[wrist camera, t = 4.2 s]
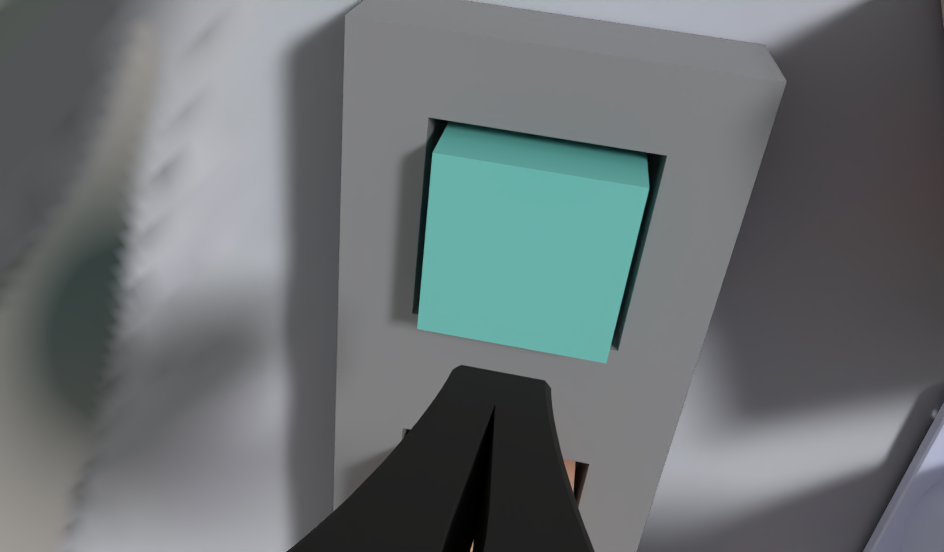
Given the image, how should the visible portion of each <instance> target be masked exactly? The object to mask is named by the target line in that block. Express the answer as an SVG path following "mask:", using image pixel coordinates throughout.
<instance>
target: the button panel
mask: <svg viewBox="0 0 944 552" xmlns="http://www.w3.org/2000/svg"><path fill="white" fill-rule="evenodd" d="M786 83H787V81H786V79H785V78H784V76H783V74H782V73H781V71H780V69H779V68H778V66H777V64H776V62H775V61H774V59H773V57H772V56H771V54H770V52H769V51H768V49H767V47H766V46H765V45H762V44H755V43H749V42H742V41H735V40H728V39H722V38H715V37H708V36H701V35H694V34H688V33H681V32H674V31H667V30H661V29H654V28H647V27H640V26H634V25H627V24H620V23H613V22H607V21H600V20H593V19H586V18H580V17H573V16H566V15H559V14H553V13H546V12H539V11H532V10H526V9H519V8H512V7H505V6H499V5H492V4H485V3H478V2H472V1H465V0H363V1H362V2H361V3H360V4H358V5H357V6H356V7H354V8H353V9H352V10H350V11H349V12H348V13H347V14H345V35H344V77H343V119H342V161H341V202H340V244H339V286H338V328H337V369H336V411H335V453H334V495H333V512H334V511H335V510H336V509H337V508H338V507H339V506H340V505H341V504H342V503H343V502H344V501H345V500H346V499H347V498H348V497H349V496H350V495H351V494H352V493H353V492H354V491H355V490H356V489H357V488H358V487H359V486H360V485H361V484H362V483H363V482H364V481H365V480H366V479H367V478H368V477H369V476H370V475H371V474H372V473H373V472H374V471H375V470H376V469H377V468H378V467H379V465H380V464H381V463H382V462H383V461H384V460H385V459H386V458H387V457H388V456H389V455H390V454H391V452H392V451H393V450H394V449H395V448H396V446H397V445H398V444H399V443H400V442H401V441H402V439H403V438H404V437H405V436H406V435H407V433H408V432H409V431H410V430H411V429H412V427H413V426H414V425H415V424H416V423H417V421H418V420H419V419H420V417H421V416H422V415H423V414H424V412H425V411H426V410H427V408H428V407H429V406H430V404H431V403H432V401H433V400H434V399H435V397H436V396H437V394H438V393H439V391H440V390H441V388H442V387H443V385H444V384H445V382H446V380H447V379H448V377H449V375H450V373H451V371H452V370H453V369H454V368H456V367H458V366H460V365H465V366H471V367H476V368H481V369H487V370H492V371H498V372H503V373H508V374H514V375H519V376H524V377H530V378H535V379H540V380H545V381H546V382H547V383H548V385H549V386H550V387H551V397H552V407H553V415H554V421H555V426H556V431H557V435H558V440H559V444H560V449H561V453H562V456H563V459H566V460H572V461H577V464H576V469H575V476H574V491H573V493H574V497H575V500H576V503H577V506H578V509H579V511H580V514H581V517H582V520H583V523H584V525H585V528H586V530H587V533H588V536H589V538H590V541H591V543H592V546H593V549H594V551H595V552H637V549H638V546H639V542H640V539H641V536H642V533H643V530H644V527H645V524H646V521H647V517H648V514H649V511H650V508H651V505H652V502H653V499H654V496H655V492H656V489H657V486H658V483H659V480H660V477H661V474H662V471H663V467H664V464H665V461H666V458H667V455H668V452H669V449H670V446H671V442H672V439H673V436H674V433H675V430H676V427H677V424H678V421H679V417H680V414H681V411H682V408H683V405H684V402H685V399H686V396H687V392H688V389H689V386H690V383H691V380H692V377H693V374H694V371H695V367H696V364H697V361H698V358H699V355H700V352H701V349H702V346H703V342H704V339H705V336H706V333H707V330H708V327H709V324H710V321H711V317H712V314H713V311H714V308H715V305H716V302H717V299H718V296H719V292H720V289H721V286H722V283H723V280H724V277H725V274H726V271H727V267H728V264H729V261H730V258H731V255H732V252H733V249H734V246H735V242H736V239H737V236H738V233H739V230H740V227H741V224H742V221H743V217H744V214H745V211H746V208H747V205H748V202H749V199H750V196H751V192H752V189H753V186H754V183H755V180H756V177H757V174H758V171H759V167H760V164H761V161H762V158H763V155H764V152H765V149H766V146H767V142H768V139H769V136H770V133H771V130H772V127H773V124H774V121H775V117H776V114H777V111H778V108H779V105H780V102H781V99H782V96H783V92H784V89H785V86H786ZM447 121H454V122H460V123H466V124H473V125H479V126H485V127H491V128H498V129H504V130H510V131H516V132H523V133H529V134H535V135H541V136H547V137H554V138H560V139H566V140H572V141H579V142H585V143H591V144H597V145H604V146H610V147H616V148H622V149H628V150H635V151H641V152H647V153H651V157H650V162H649V166H648V176H649V192H648V196H647V200H646V204H645V208H644V212H643V216H642V220H641V224H640V229H639V233H638V237H637V241H636V245H635V249H634V253H633V257H632V261H631V265H630V269H629V273H628V277H627V281H626V286H625V290H624V294H623V298H622V302H621V306H620V310H619V314H618V318H617V322H616V326H615V330H614V334H613V338H612V343H611V347H610V351H609V355H608V359H607V363H601V362H595V361H590V360H585V359H579V358H574V357H568V356H563V355H557V354H552V353H546V352H541V351H535V350H530V349H524V348H519V347H513V346H508V345H502V344H497V343H491V342H486V341H480V340H475V339H469V338H464V337H458V336H453V335H447V334H442V333H436V332H431V331H425V330H420V329H417V324H418V313H419V301H420V290H421V278H422V267H423V256H424V244H425V233H426V221H427V210H428V198H429V187H430V176H431V164H432V153H433V151H434V149H435V147H436V145H437V143H438V141H439V140H440V138H441V136H442V134H443V132H444V130H445V128H446V126H447Z"/></svg>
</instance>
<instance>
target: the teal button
mask: <svg viewBox="0 0 944 552" xmlns="http://www.w3.org/2000/svg"><path fill="white" fill-rule="evenodd" d="M648 192H649V176H648V163H647V152H641V151H635V150H628V149H622V148H616V147H610V146H604V145H597V144H591V143H585V142H579V141H572V140H566V139H560V138H554V137H547V136H541V135H535V134H529V133H523V132H516V131H510V130H504V129H498V128H491V127H485V126H479V125H473V124H466V123H460V122H454V121H449V123H448V125H447V126H446V128H445V130H444V132H443V134H442V136H441V138H440V140H439V141H438V143H437V145H436V147H435V149H434V151H433V153H432V164H431V176H430V187H429V198H428V210H427V221H426V233H425V244H424V256H423V267H422V278H421V290H420V301H419V313H418V324H417V329H420V330H425V331H431V332H436V333H442V334H447V335H453V336H458V337H464V338H469V339H475V340H480V341H486V342H491V343H497V344H502V345H508V346H513V347H519V348H524V349H530V350H535V351H541V352H546V353H552V354H557V355H563V356H568V357H574V358H579V359H585V360H590V361H595V362H601V363H607V359H608V355H609V351H610V347H611V343H612V338H613V334H614V330H615V326H616V322H617V318H618V314H619V310H620V306H621V302H622V298H623V294H624V290H625V286H626V281H627V277H628V273H629V269H630V265H631V261H632V257H633V253H634V249H635V245H636V241H637V237H638V233H639V229H640V224H641V220H642V216H643V212H644V208H645V204H646V200H647V196H648Z"/></svg>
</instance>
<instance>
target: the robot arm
mask: <svg viewBox="0 0 944 552" xmlns="http://www.w3.org/2000/svg"><path fill="white" fill-rule="evenodd" d="M472 544H473V551H472V552H595V551H594V549H593V546H592V543H591V541H590V538H589V536H588V533H587V530H586V528H585V525H584V523H583V520H582V517H581V514H580V511H579V509H578V506H577V503H576V500H575V497H574V493H573V490H572V487H571V484H570V480H569V477H568V474H567V471H566V467H565V464H564V460H563V456H562V453H561V449H560V444H559V440H558V435H557V431H556V426H555V421H554V415H553V407H552V397H551V387H550V386H549V385H548V383H547V382H546V381H545V380H540V379H535V378H530V377H524V376H519V375H514V374H508V373H503V372H498V371H492V370H487V369H481V368H476V367H471V366H465V365H460V366H458V367H456V368H454V369H453V370H452V371H451V373H450V375H449V377H448V379H447V380H446V382H445V384H444V385H443V387H442V388H441V390H440V391H439V393H438V394H437V396H436V397H435V399H434V400H433V401H432V403H431V404H430V406H429V407H428V408H427V410H426V411H425V412H424V414H423V415H422V416H421V417H420V419H419V420H418V421H417V423H416V424H415V425H414V426H413V427H412V429H411V430H410V431H409V432H408V433H407V435H406V436H405V437H404V438H403V439H402V441H401V442H400V443H399V444H398V445H397V446H396V448H395V449H394V450H393V451H392V452H391V454H390V455H389V456H388V457H387V458H386V459H385V460H384V461H383V462H382V463H381V464H380V465H379V467H378V468H377V469H376V470H375V471H374V472H373V473H372V474H371V475H370V476H369V477H368V478H367V479H366V480H365V481H364V482H363V483H362V484H361V485H360V486H359V487H358V488H357V489H356V490H355V491H354V492H353V493H352V494H351V495H350V496H349V497H348V498H347V499H346V500H345V501H344V502H343V503H342V504H341V505H340V506H339V507H338V508H337V509H336V510H335V511H334V512H333V513H331V514H330V515H329V516H328V517H327V518H326V519H325V520H324V521H323V522H321V523H320V524H319V525H318V526H317V527H316V528H315V529H313V530H312V531H311V532H310V533H309V534H308V535H306V536H305V537H304V538H303V539H302V540H301V541H299V542H298V543H297V544H296V545H295V546H293V547H292V548H291V549H290V550H288V551H287V552H470V550H471V547H472ZM863 552H944V403H943V404H942V406H941V408H940V410H939V412H938V414H937V416H936V417H935V419H934V421H933V423H932V425H931V427H930V428H929V430H928V432H927V434H926V436H925V438H924V440H923V441H922V443H921V445H920V447H919V449H918V451H917V453H916V454H915V456H914V458H913V460H912V462H911V464H910V465H909V467H908V469H907V471H906V473H905V475H904V477H903V478H902V480H901V482H900V484H899V486H898V488H897V490H896V491H895V493H894V495H893V497H892V499H891V501H890V503H889V504H888V506H887V508H886V510H885V512H884V514H883V515H882V517H881V519H880V521H879V523H878V525H877V527H876V528H875V530H874V532H873V534H872V536H871V538H870V540H869V541H868V543H867V545H866V547H865V549H864V551H863Z"/></svg>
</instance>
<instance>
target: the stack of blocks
mask: <svg viewBox="0 0 944 552" xmlns="http://www.w3.org/2000/svg"><path fill="white" fill-rule="evenodd" d="M941 8H942V17H943V26H944V0H941Z"/></svg>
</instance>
